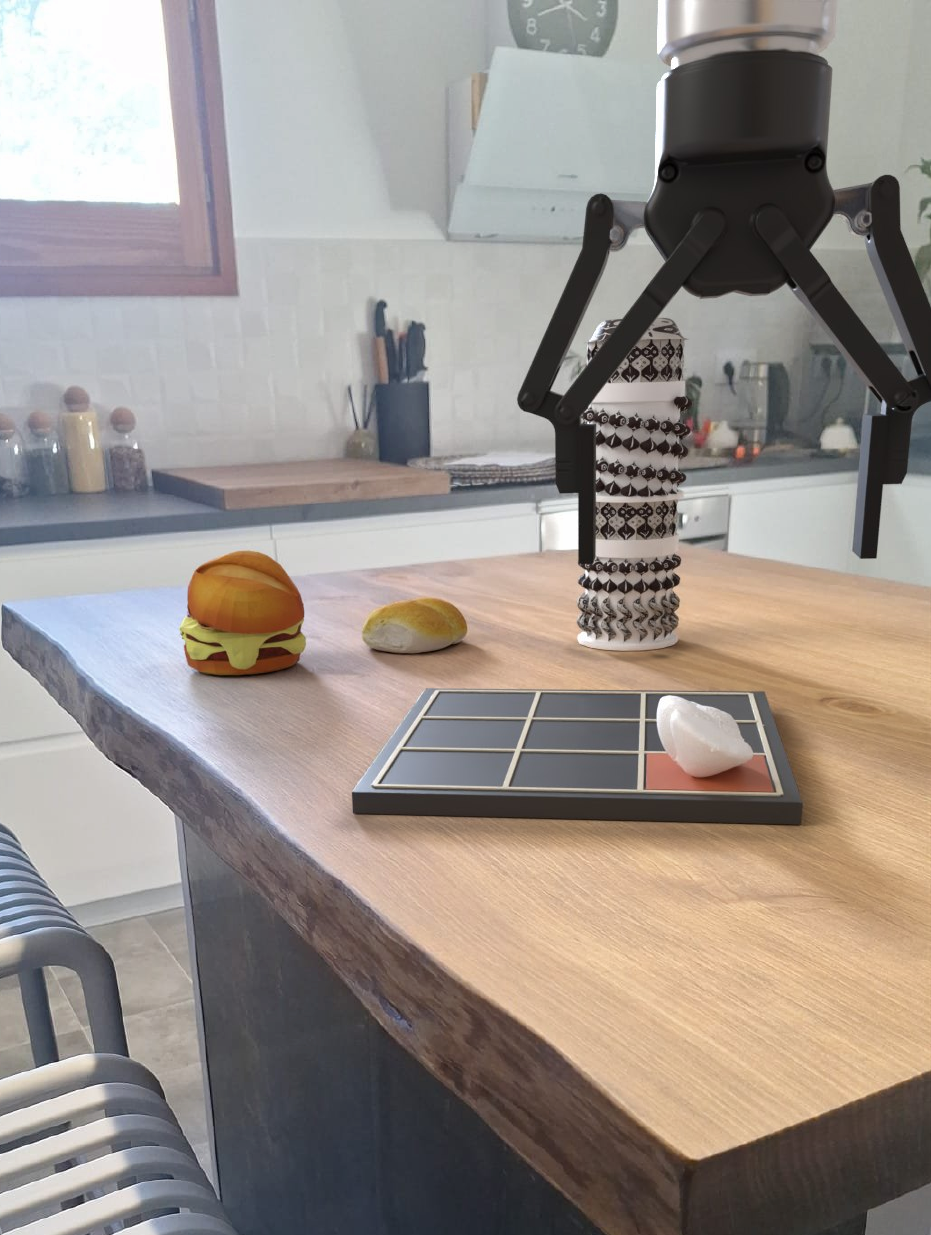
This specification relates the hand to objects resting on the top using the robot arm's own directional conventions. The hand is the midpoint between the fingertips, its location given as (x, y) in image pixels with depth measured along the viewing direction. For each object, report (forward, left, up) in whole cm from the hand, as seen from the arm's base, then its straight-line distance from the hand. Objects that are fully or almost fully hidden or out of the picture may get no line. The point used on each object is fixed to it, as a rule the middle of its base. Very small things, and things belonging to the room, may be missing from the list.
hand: (723, 558), depth 62 cm
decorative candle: (+5, -41, -13) cm, 43 cm away
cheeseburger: (+35, -30, -13) cm, 48 cm away
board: (+7, -7, -13) cm, 16 cm away
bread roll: (+23, -39, -13) cm, 47 cm away
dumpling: (0, 0, -11) cm, 11 cm away
